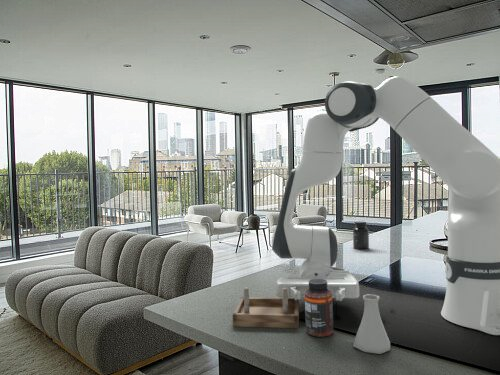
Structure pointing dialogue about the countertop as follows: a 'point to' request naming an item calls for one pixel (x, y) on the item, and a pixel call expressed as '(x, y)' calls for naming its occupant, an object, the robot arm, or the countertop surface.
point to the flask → (372, 328)
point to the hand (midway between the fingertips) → (318, 297)
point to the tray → (267, 311)
